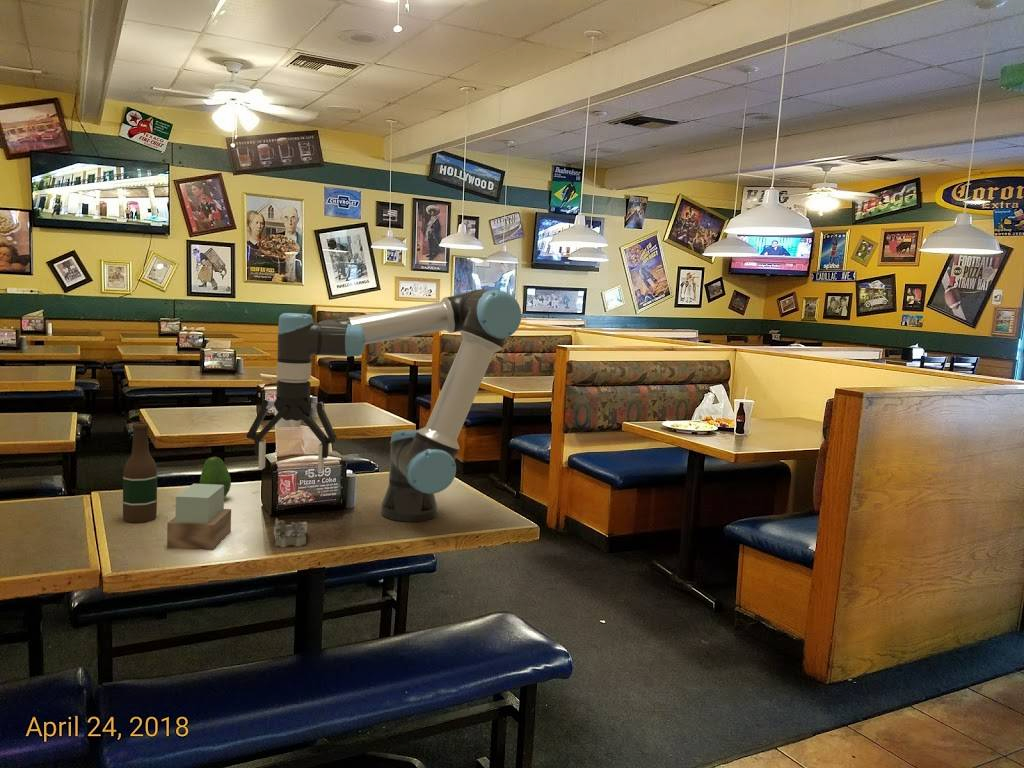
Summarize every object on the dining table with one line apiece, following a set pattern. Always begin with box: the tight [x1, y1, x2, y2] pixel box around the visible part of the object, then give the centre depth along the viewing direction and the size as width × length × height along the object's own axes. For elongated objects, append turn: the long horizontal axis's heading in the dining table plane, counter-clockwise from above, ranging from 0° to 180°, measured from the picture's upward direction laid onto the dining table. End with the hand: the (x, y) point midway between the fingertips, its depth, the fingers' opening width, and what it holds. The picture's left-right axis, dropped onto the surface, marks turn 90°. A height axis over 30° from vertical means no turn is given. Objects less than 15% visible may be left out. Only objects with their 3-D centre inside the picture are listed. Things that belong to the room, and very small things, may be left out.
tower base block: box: [166, 508, 232, 551], centre depth 165 cm, size 10×12×6 cm
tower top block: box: [174, 483, 225, 524], centre depth 165 cm, size 7×11×6 cm, turn 5°
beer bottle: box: [122, 421, 158, 524], centre depth 176 cm, size 8×8×24 cm
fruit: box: [199, 456, 232, 498], centre depth 195 cm, size 8×8×12 cm
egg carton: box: [273, 517, 308, 548], centre depth 170 cm, size 11×8×4 cm
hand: (291, 470), depth 168 cm, fingers open, 13 cm apart
